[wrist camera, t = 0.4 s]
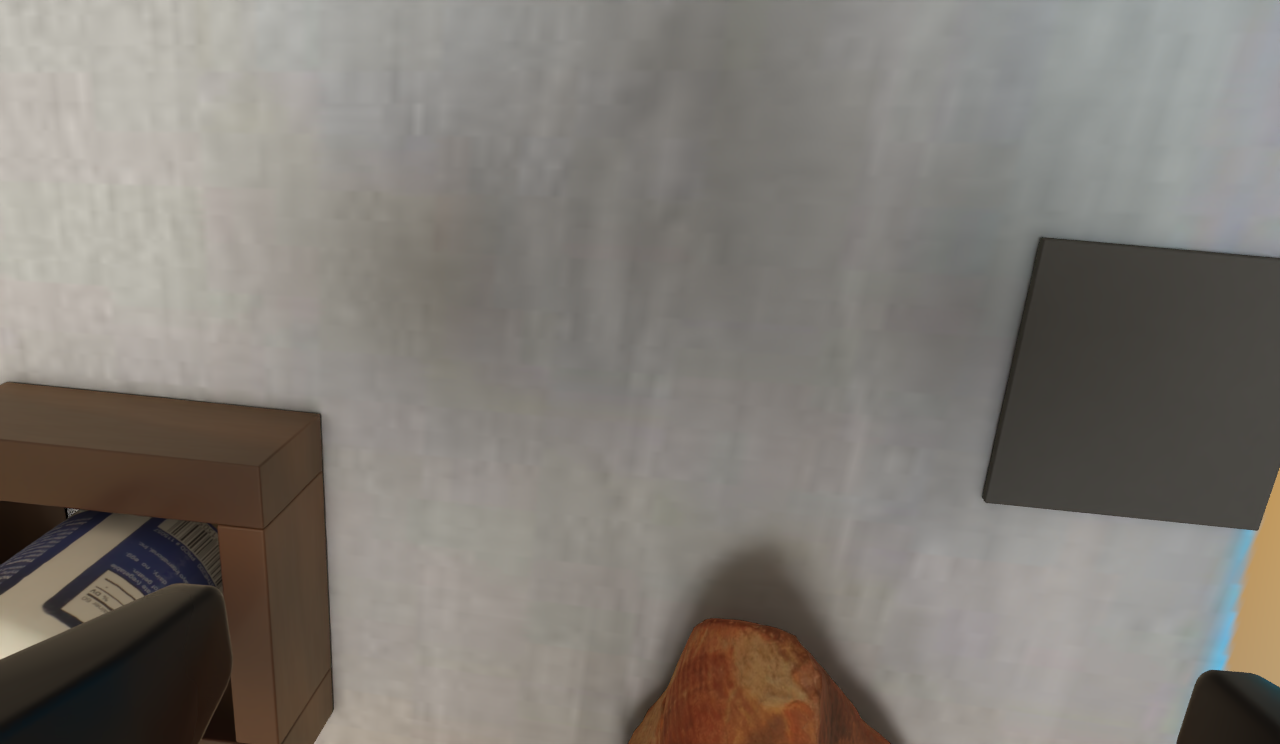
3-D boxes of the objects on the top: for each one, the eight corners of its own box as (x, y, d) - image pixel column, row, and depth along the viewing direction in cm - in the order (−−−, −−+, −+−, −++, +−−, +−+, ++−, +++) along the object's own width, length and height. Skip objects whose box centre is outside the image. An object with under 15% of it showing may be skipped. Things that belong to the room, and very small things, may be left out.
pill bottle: (92, 613, 27) (-227, 891, 18) (87, 455, 25) (-270, 674, 16) (264, 648, 27) (32, 946, 18) (271, 492, 25) (18, 734, 16)
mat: (1251, 525, 23) (1258, 530, 23) (981, 498, 24) (984, 503, 23) (1340, 263, 21) (1349, 266, 21) (1040, 236, 21) (1044, 239, 21)
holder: (333, 711, 28) (282, 798, 24) (55, 678, 28) (-33, 759, 25) (320, 413, 24) (259, 466, 21) (6, 381, 25) (-103, 428, 21)
